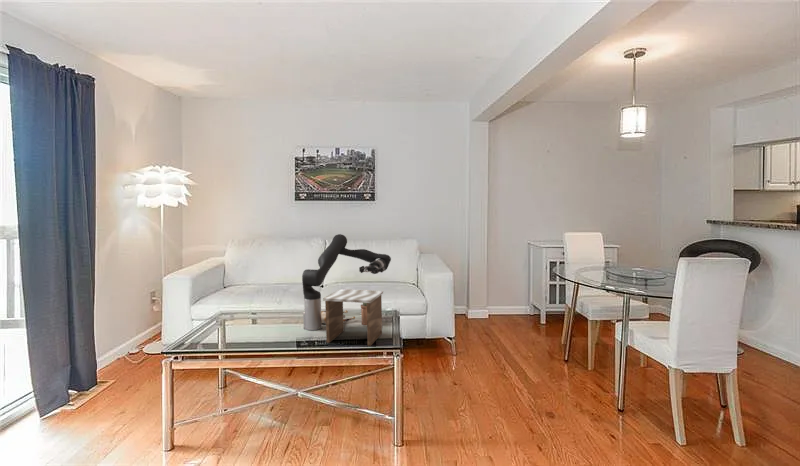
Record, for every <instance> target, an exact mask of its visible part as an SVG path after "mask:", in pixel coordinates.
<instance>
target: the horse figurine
mask: <svg viewBox="0 0 800 466" xmlns="http://www.w3.org/2000/svg"><path fill="white" fill-rule="evenodd" d="M348 311H349V310H347V309H346V310H345V311H344V310H343V323H344V322H345V323H346V322H348V321H351V320H355V319H356V316H352V317H351V318H346V315H345V314H347V313H348ZM321 318H322V324H325V325H326V310H321Z"/></svg>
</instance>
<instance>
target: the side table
mask: <svg viewBox="0 0 800 466" xmlns="http://www.w3.org/2000/svg"><path fill="white" fill-rule="evenodd" d="M383 294H384V291H383V290H371V289H370V290H366V289H346V288H345V289H344V288H343V289H342V288H338V289H337V290H335V291H333V292H331V293H330V294H328V295H326V296H325V297H323V299H322V301H324V302H325V304H324V305H325V311H326V324H325V335H326V336H325V338H326V339H325V340H326V341H325V342H326V343H328V344H330V343H331V342H332V341H333V340H335V339H336V338H337V337H338V336H340V335H341V334H342V333H344V332H345V330H344V322H343V319H344V318H343V315H344V313H343V312H344V303H361V304H363V303H367V325H366V328H367V329H366V330H367V331H366V332H367V334H366V335H367V338H366V339H367V346H368V347H371V346H372V345H373V344H374V343H375V342H376V341H377V339H379V337H381V336H382V334H383V321H382V320H383V319H382V318H383V317H382V315H383V312H382V311H383V309H382V307H383V306H382V302H383V301H382V295H383Z"/></svg>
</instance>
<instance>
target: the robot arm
mask: <svg viewBox="0 0 800 466" xmlns="http://www.w3.org/2000/svg"><path fill="white" fill-rule="evenodd" d="M347 243H348V238H347V236H345V235H344V234H341V233H340V234H335V235H334V236H333V237H332V240H331V242H330V244H329V245H328V246H327V247H326V248H325V249H324V251H323V252H322V253H321V254H320V255H319V257H318V259H317V263H318V266H319V268H318V269H305V270H303V272H302V276H301V280H302V283H301V284H302V292H303V299H304V300H303V301H304V303H303V306H304V311H303V313H302V315H303V316H302V317H303V319H302V320H303V329H304V330H307V331H316V330H320V329H322V327H323V326H322V325H323V323H322V318H321V311H322V294H321V292H320V291H318V290H316V289H315V288H313V287H319V286H320V287H321V286H322V284H323V283H324V280H325V278H326V277H327V275H328V273H329V272H330V269H331V268H332V267H333V266H334V264H335V263H336V261H337V259H338V256H339V255H342V256H346V257H351V258H355V259H359V260H360V261H364V262H367V263H369V264H368V265H366V266H365V265H362V266H359V270H358V271H359V273H360V274H363V273H370V274H372V275H375V274H379V273H383V272H385V271H386V270H388V267H389V265H390V263H391V262H392V261H391V260H392V257H391V256H390V255H389V254H385V253H378V252H373V251H371V250H368V249H365V248H359V249H358V248H356V249H349V248H346V247H347Z"/></svg>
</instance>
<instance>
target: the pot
mask: <svg viewBox="0 0 800 466" xmlns="http://www.w3.org/2000/svg"><path fill="white" fill-rule="evenodd" d="M360 308H361V309H360V310H361V312H360V315H361V316H360V317H361V325H362V326H367V303H361V304H360Z"/></svg>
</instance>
